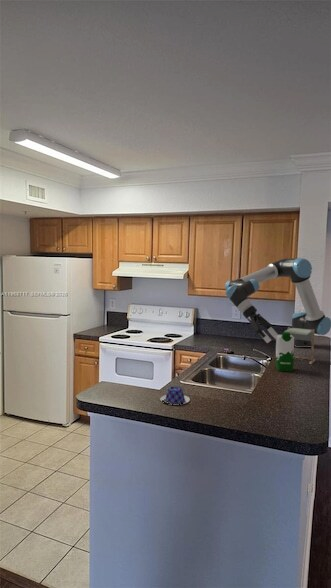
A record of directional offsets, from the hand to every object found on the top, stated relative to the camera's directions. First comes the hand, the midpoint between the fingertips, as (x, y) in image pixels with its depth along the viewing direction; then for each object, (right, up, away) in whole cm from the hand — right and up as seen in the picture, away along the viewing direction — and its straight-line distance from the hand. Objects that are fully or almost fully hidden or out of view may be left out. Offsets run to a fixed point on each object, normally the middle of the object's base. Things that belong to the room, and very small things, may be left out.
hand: (273, 339), depth 199 cm
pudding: (-54, -19, -48) cm, 74 cm away
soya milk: (+5, -16, -1) cm, 17 cm away
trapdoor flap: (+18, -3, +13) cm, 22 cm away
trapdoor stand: (+20, -14, +17) cm, 30 cm away
